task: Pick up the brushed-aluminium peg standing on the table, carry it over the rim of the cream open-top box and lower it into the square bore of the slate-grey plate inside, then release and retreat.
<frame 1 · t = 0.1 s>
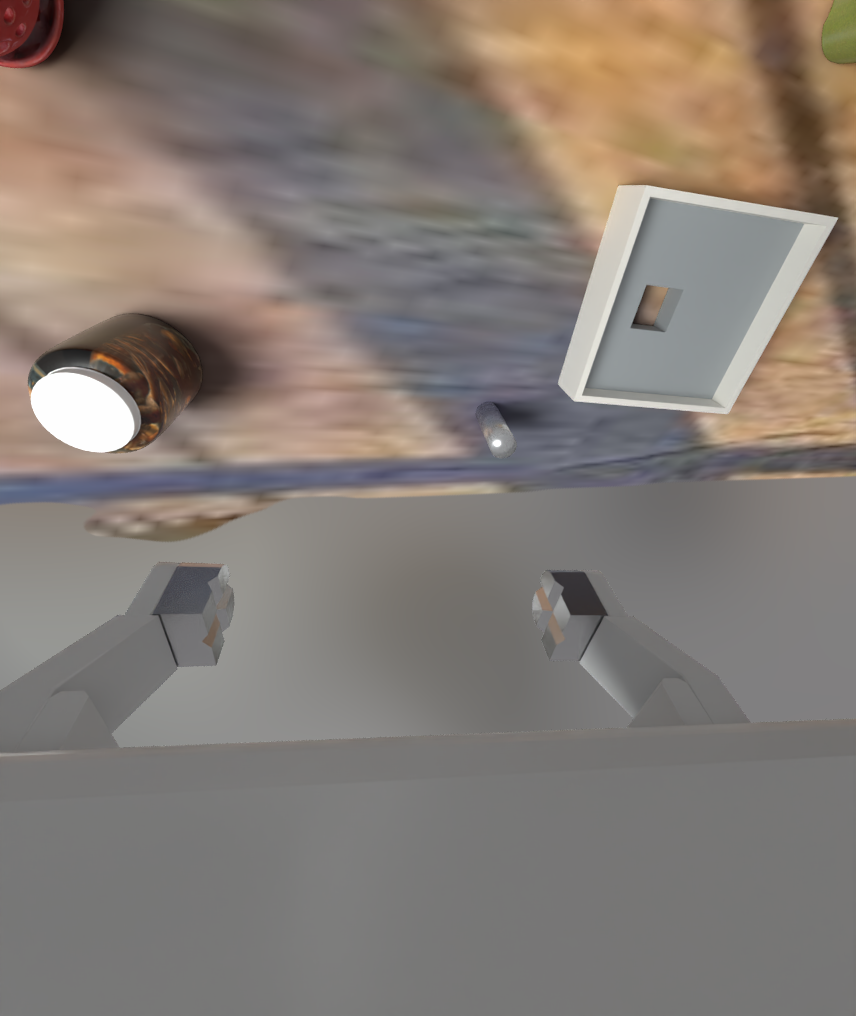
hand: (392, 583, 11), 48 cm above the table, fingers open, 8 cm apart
jar: (150, 362, 53), on the table
plant pot: (853, 18, 41), on the table
box: (665, 306, 55), on the table
peg: (486, 412, 61), on the table
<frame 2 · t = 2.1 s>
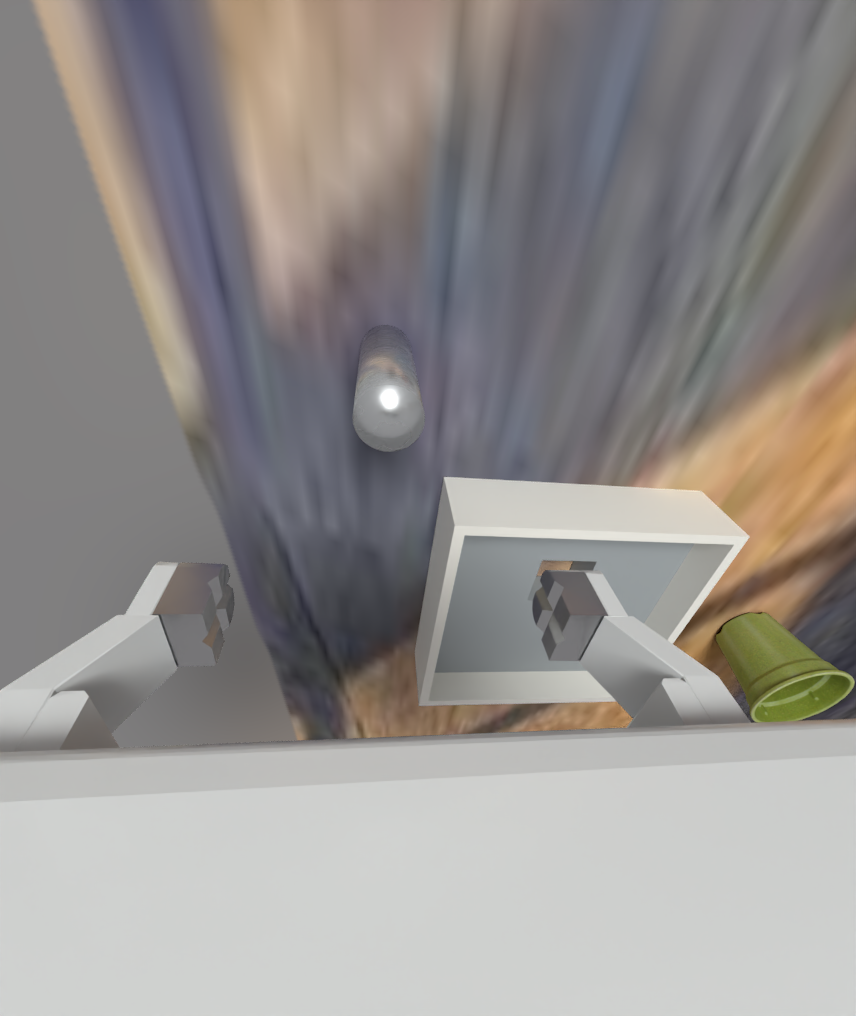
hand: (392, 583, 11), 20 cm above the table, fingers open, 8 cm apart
plant pot: (741, 627, 49), on the table
box: (541, 580, 41), on the table
peg: (386, 351, 27), on the table
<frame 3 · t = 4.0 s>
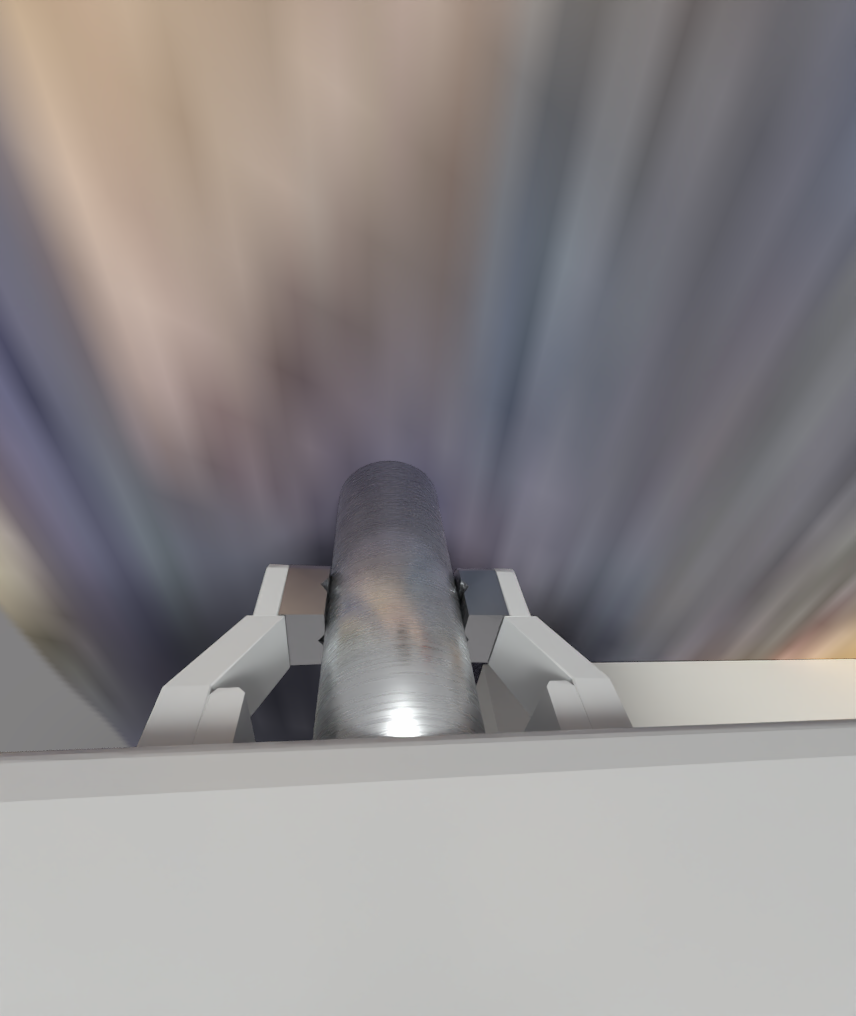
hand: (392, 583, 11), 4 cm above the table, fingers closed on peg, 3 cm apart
box: (614, 762, 28), on the table
peg: (388, 503, 14), on the table, touching gripper
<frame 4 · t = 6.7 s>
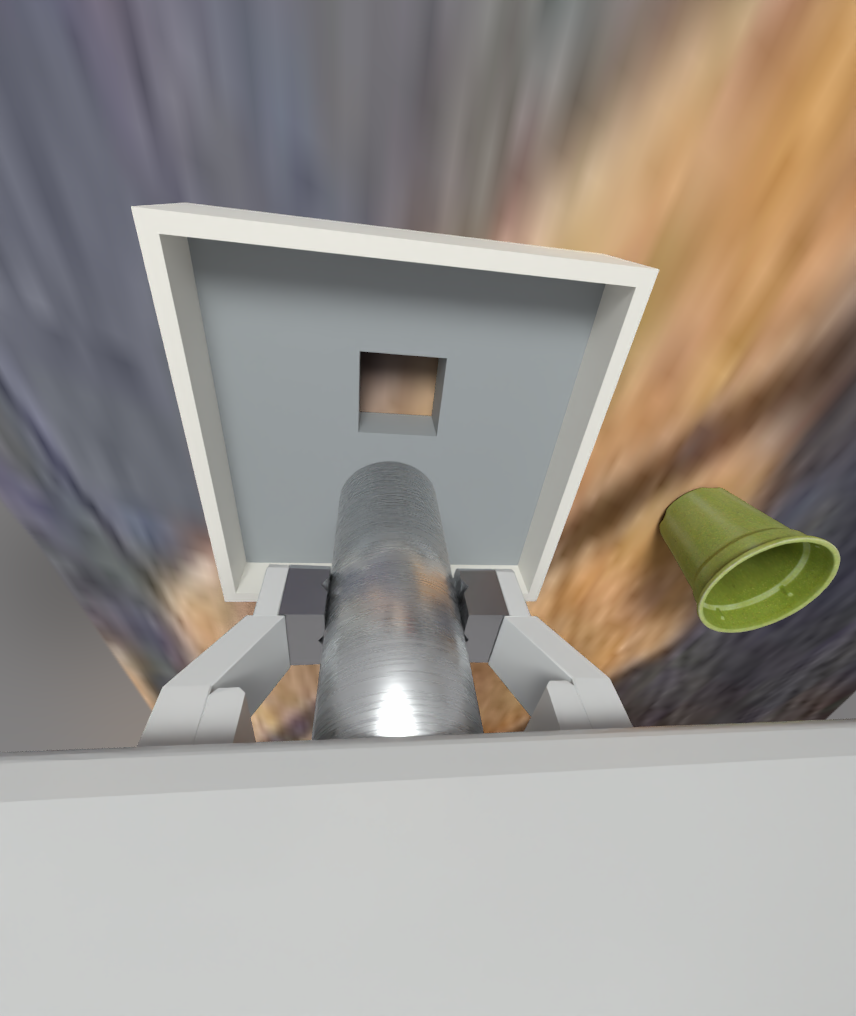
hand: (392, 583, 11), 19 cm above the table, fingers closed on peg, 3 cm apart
plant pot: (692, 513, 37), on the table
box: (395, 422, 29), on the table
peg: (388, 503, 14), point 15 cm above the table, touching gripper
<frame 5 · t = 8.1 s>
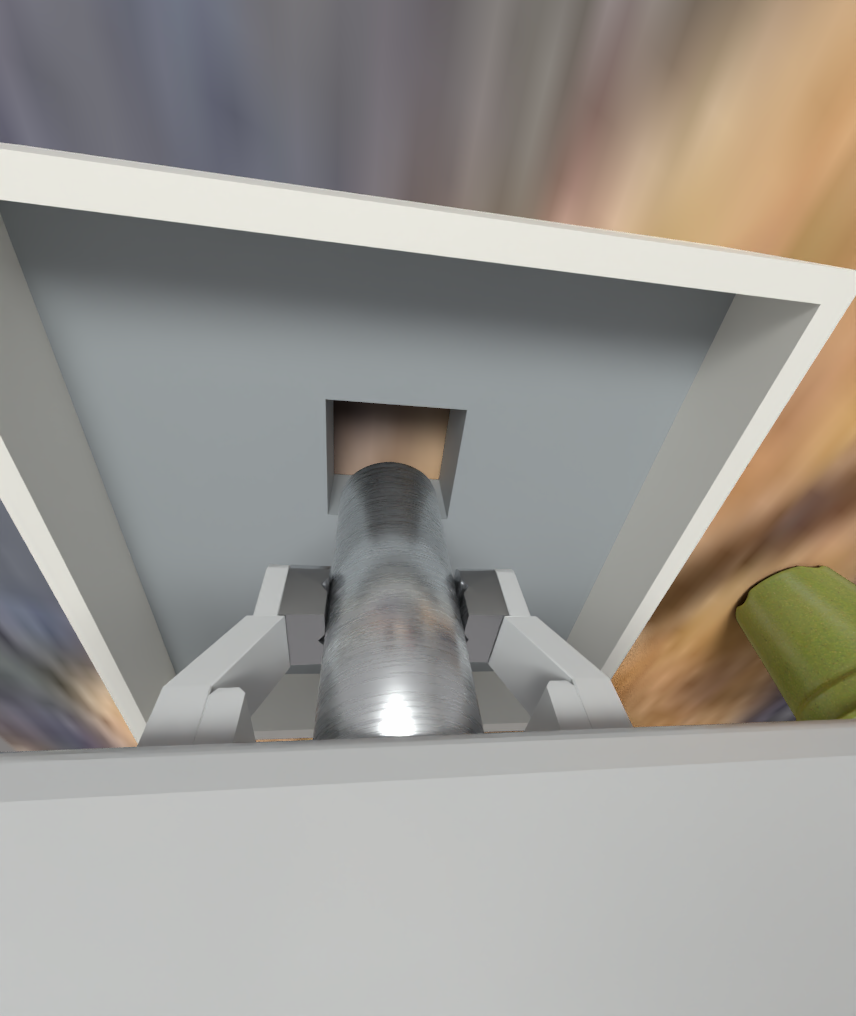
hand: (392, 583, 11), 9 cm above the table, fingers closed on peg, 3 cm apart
plant pot: (779, 594, 28), on the table
box: (386, 487, 20), on the table
peg: (389, 504, 14), point 5 cm above the table, touching gripper
when the fingers open (5 cm above the table, at t = 9.3 s): peg stays where it is, resting in box.
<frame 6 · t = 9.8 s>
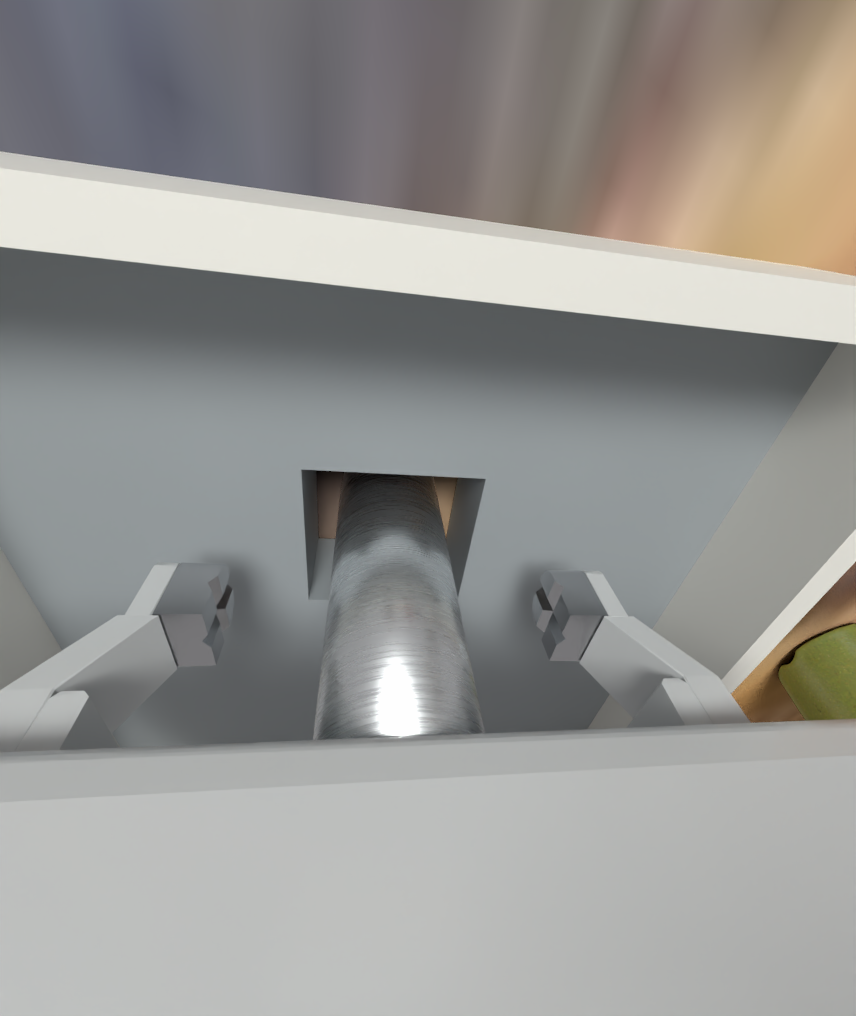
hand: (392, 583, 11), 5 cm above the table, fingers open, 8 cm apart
plant pot: (828, 650, 25), on the table
box: (382, 552, 17), on the table
peg: (388, 487, 15), resting in box
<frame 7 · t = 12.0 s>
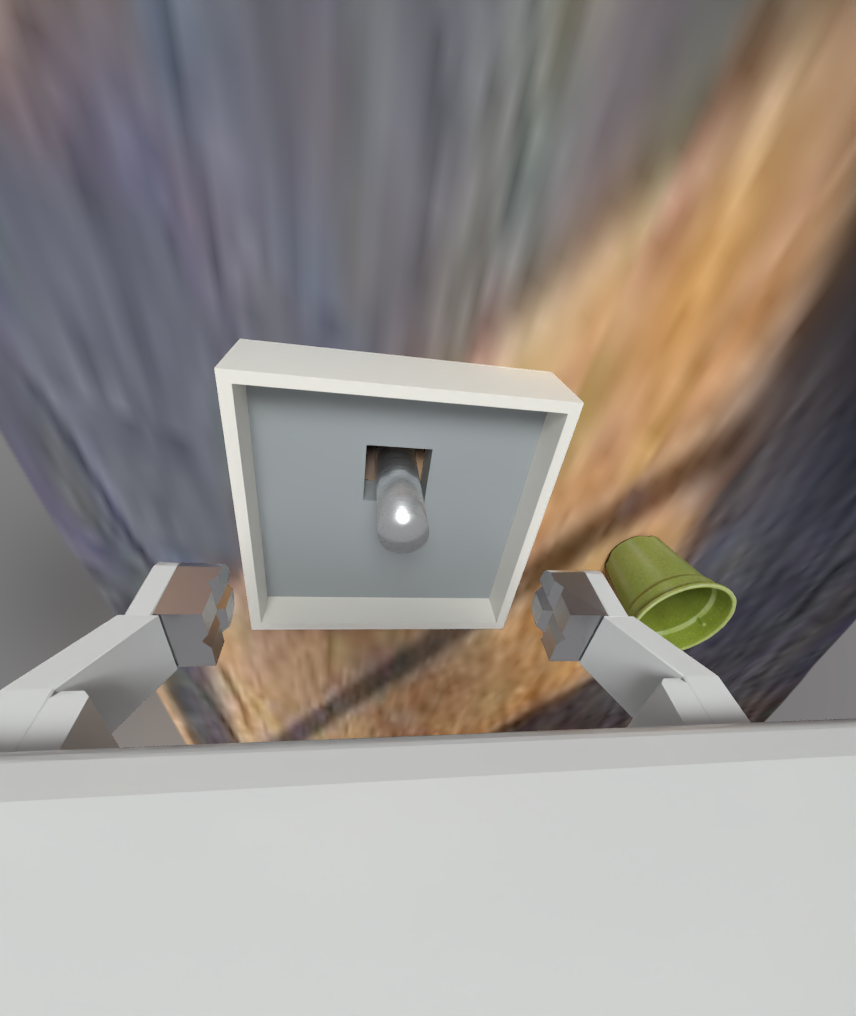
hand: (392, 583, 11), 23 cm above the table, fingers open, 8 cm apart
plant pot: (633, 555, 45), on the table
box: (391, 487, 37), on the table
peg: (395, 456, 35), resting in box
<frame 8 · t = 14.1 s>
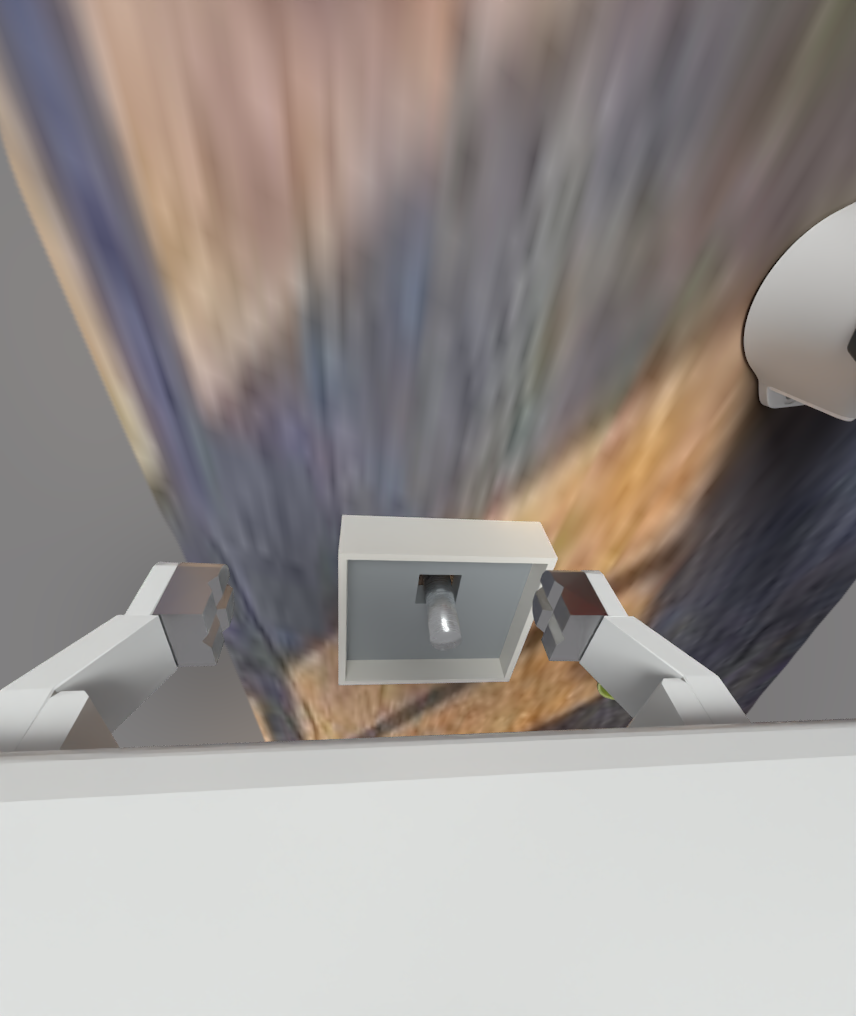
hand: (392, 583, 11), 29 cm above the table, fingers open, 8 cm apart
box: (432, 588, 54), on the table
peg: (435, 571, 52), resting in box
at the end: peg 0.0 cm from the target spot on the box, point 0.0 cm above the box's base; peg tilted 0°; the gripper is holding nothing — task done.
